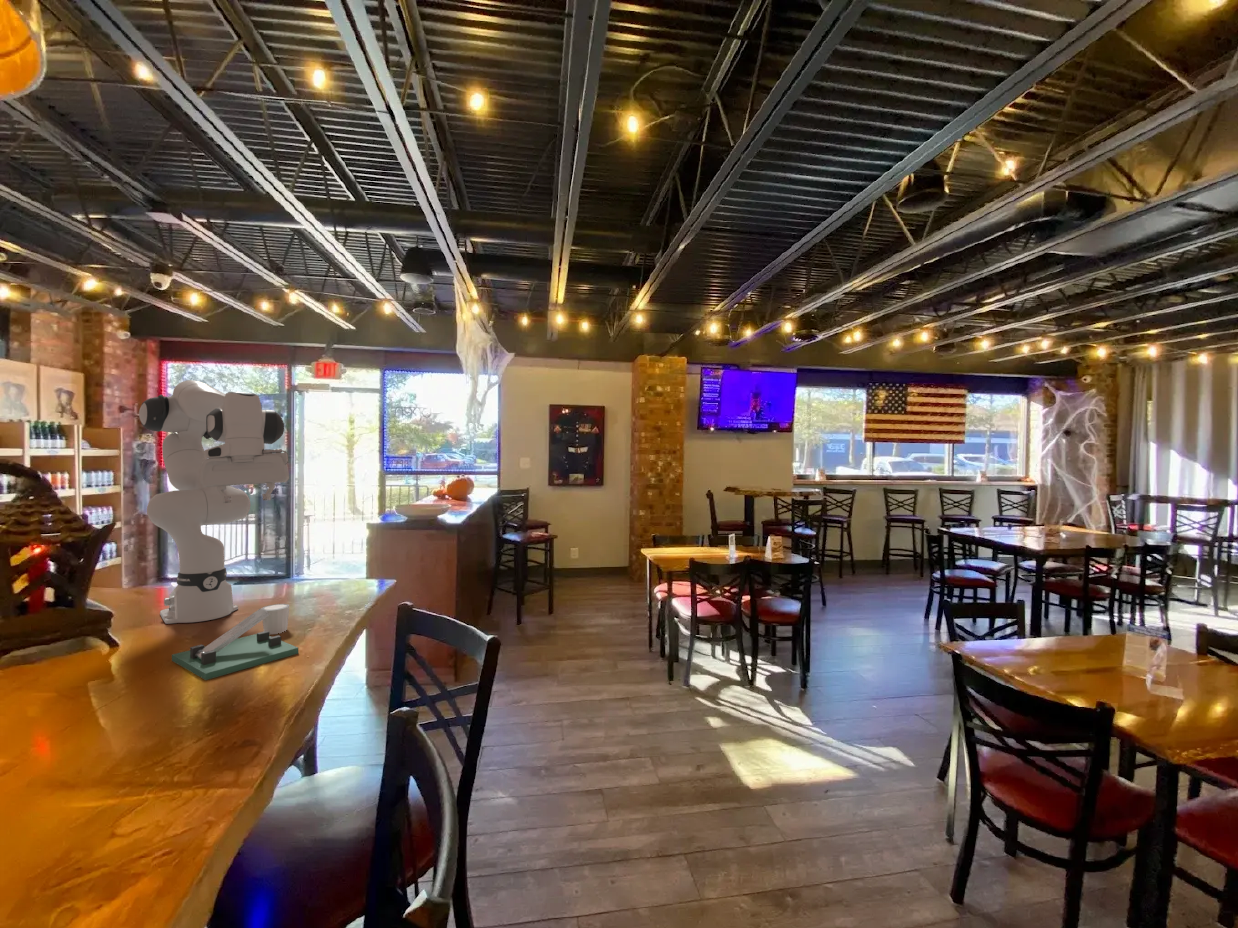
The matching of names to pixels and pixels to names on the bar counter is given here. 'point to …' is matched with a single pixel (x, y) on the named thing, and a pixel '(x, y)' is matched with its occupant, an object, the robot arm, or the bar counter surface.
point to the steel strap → (234, 632)
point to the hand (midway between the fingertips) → (247, 501)
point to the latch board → (235, 655)
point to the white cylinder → (276, 618)
